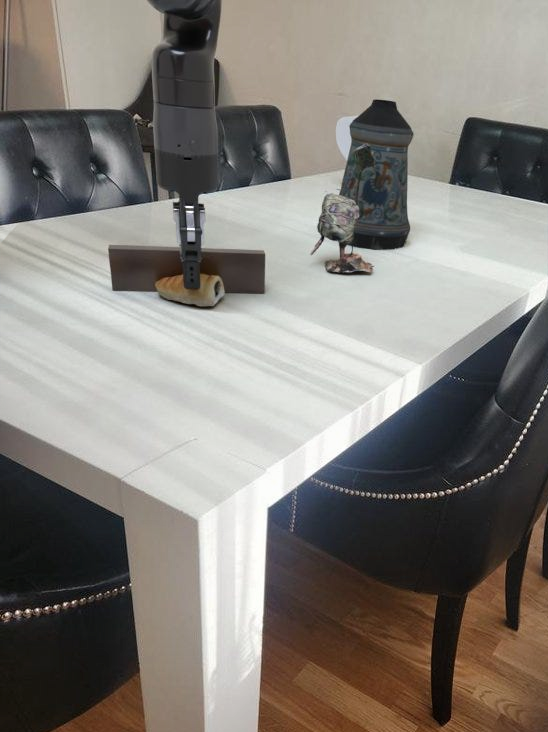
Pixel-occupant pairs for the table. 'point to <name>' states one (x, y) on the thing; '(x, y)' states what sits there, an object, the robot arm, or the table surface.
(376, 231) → the beer stein
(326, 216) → the bird figurine
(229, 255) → the backstop
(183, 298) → the pastry
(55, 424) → the table surface
